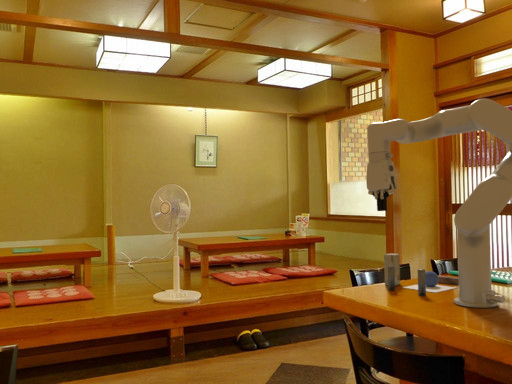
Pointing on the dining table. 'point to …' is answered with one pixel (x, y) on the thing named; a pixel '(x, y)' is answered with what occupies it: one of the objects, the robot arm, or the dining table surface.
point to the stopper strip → (448, 280)
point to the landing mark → (432, 288)
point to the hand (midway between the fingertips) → (382, 210)
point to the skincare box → (392, 261)
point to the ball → (431, 279)
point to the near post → (421, 282)
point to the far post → (391, 278)
